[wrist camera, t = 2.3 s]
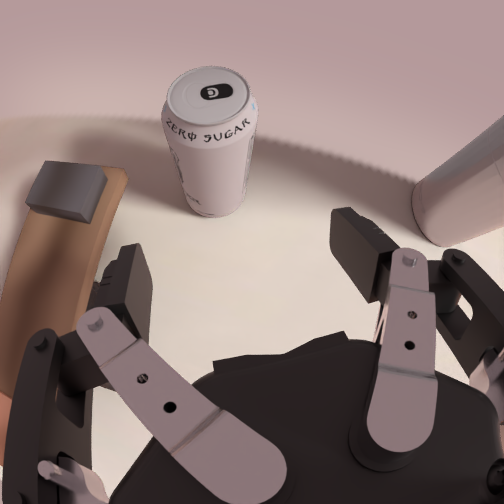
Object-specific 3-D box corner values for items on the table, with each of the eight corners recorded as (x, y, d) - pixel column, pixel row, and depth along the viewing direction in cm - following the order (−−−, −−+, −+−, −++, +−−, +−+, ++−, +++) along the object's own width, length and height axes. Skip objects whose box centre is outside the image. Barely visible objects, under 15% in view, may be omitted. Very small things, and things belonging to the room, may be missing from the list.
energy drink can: (181, 173, 30) (153, 71, 15) (237, 161, 30) (247, 55, 16) (192, 227, 28) (161, 144, 14) (251, 213, 29) (274, 123, 15)
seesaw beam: (135, 184, 24) (122, 154, 20) (75, 493, 14) (53, 512, 10) (59, 174, 23) (40, 148, 19) (0, 449, 14) (-26, 458, 10)
